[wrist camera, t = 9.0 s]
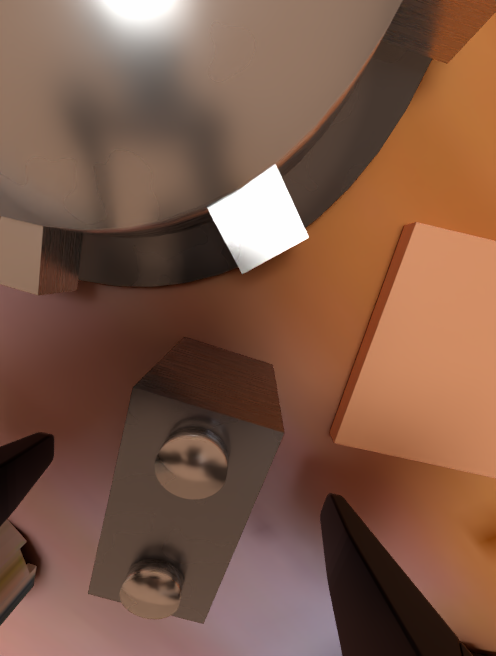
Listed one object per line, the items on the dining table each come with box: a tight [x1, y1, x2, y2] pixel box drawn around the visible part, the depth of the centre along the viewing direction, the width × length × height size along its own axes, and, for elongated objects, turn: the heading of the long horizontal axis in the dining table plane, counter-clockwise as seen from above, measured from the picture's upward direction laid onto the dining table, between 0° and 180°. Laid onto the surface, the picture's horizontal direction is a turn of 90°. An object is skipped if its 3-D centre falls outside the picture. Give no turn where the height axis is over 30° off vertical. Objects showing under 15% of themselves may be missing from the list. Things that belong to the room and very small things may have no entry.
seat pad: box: [330, 222, 496, 478], centre depth 8 cm, size 8×8×1 cm
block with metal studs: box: [88, 337, 284, 624], centre depth 8 cm, size 7×4×4 cm, turn 162°
